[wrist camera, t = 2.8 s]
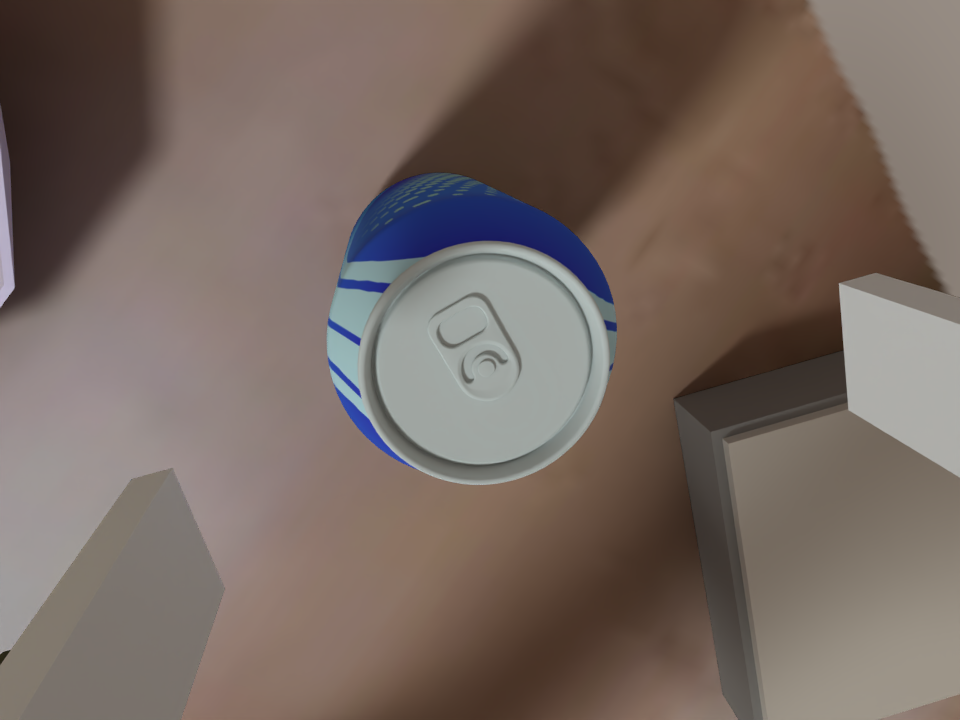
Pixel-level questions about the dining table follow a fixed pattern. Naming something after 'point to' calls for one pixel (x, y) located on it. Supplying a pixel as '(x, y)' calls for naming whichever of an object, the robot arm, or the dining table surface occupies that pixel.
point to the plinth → (820, 550)
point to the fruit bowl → (5, 220)
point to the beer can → (469, 331)
